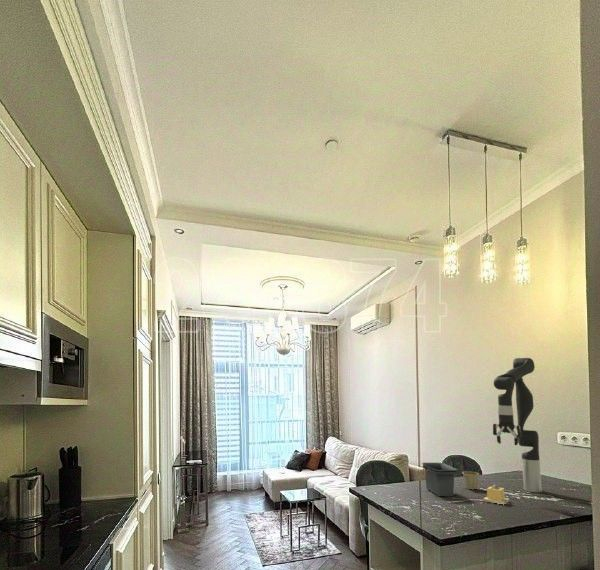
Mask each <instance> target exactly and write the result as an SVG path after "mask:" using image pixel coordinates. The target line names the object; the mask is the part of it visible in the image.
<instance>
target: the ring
mask: <svg viewBox="0 0 600 570" xmlns="http://www.w3.org/2000/svg"><path fill="white" fill-rule="evenodd" d="M486 495H487V496H486V497H487V499H492V500H498V501H501V500H503V499H505V498H506V497H505V488H504V487H499V486H498V490H497V489H493V485H492V486H489V487H487V488H486Z"/></svg>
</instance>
